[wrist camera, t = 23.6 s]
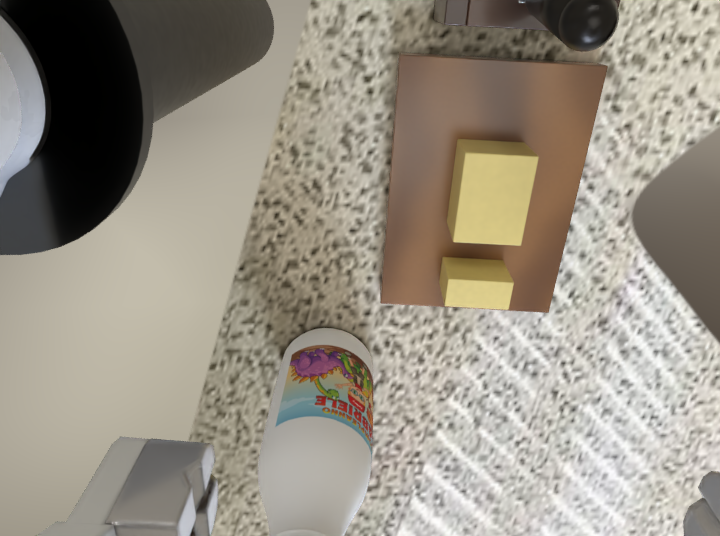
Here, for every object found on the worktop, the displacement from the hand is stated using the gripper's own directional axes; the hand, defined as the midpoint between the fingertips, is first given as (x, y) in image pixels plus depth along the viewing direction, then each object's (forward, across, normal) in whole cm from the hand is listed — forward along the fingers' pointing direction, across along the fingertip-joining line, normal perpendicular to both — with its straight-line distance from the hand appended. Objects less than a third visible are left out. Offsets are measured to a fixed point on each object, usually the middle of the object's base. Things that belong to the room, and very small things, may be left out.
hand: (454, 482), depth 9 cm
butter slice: (+30, -6, +11) cm, 32 cm away
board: (+31, -6, +5) cm, 32 cm away
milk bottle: (+31, +4, +21) cm, 38 cm away
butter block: (+30, -6, +4) cm, 31 cm away
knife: (+31, -6, -9) cm, 33 cm away
